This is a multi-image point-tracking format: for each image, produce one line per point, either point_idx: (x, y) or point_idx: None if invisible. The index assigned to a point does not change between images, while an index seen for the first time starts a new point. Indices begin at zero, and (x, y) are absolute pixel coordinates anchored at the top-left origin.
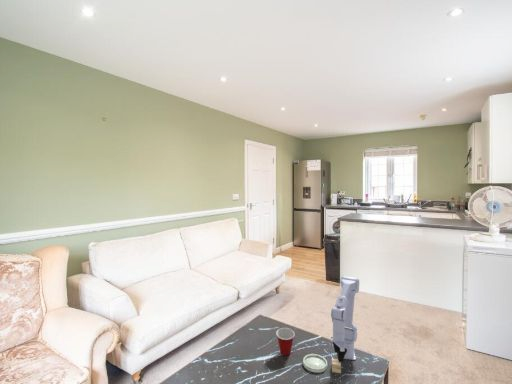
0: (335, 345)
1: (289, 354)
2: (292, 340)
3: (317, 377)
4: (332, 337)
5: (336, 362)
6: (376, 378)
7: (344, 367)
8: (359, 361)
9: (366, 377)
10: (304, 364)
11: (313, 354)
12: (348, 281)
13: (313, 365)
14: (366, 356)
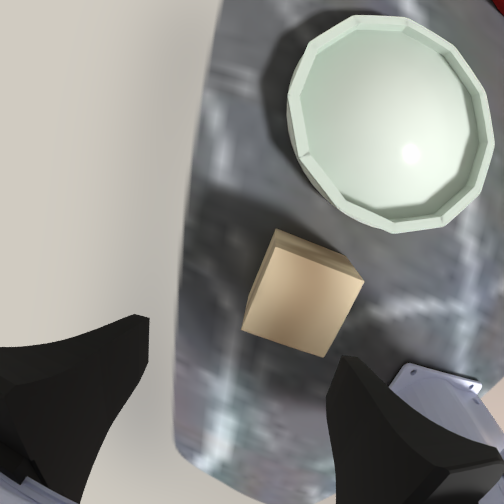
0: (365, 432)
1: (498, 9)
2: None
3: (229, 77)
4: (486, 486)
5: (287, 303)
6: (180, 450)
7: None
8: None
9: (189, 419)
10: (380, 19)
11: (487, 151)
12: None
13: (370, 89)
14: None
